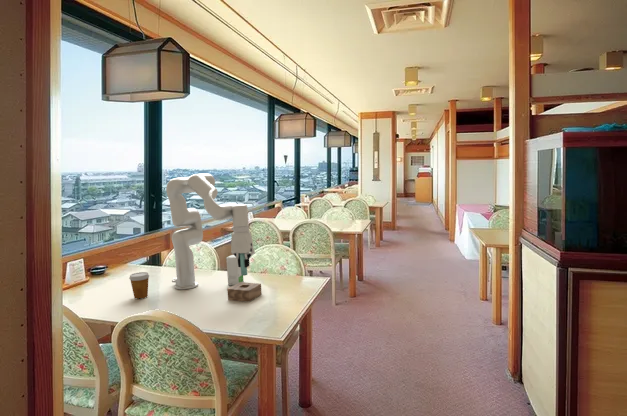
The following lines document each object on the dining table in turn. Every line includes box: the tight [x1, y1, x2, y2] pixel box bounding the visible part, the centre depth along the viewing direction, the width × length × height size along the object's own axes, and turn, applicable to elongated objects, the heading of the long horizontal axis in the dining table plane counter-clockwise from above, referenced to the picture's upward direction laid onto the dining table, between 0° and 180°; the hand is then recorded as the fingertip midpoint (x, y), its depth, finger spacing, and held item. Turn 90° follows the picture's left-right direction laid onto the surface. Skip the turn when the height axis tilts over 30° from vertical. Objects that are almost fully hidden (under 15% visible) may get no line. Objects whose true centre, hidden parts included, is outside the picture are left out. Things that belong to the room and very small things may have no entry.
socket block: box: [227, 281, 263, 303], centre depth 207 cm, size 12×12×6 cm
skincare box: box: [225, 254, 244, 286], centre depth 232 cm, size 8×7×16 cm
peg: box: [240, 253, 248, 277], centre depth 205 cm, size 3×3×12 cm
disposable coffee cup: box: [128, 271, 150, 300], centre depth 213 cm, size 10×10×12 cm
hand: (243, 266), depth 205 cm, fingers closed on peg, 3 cm apart
